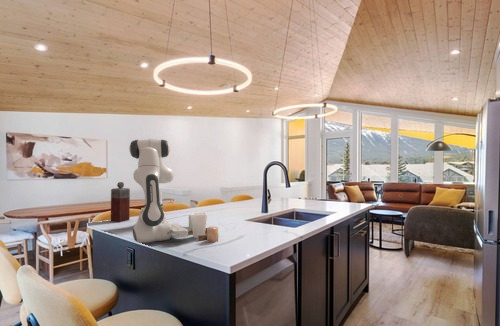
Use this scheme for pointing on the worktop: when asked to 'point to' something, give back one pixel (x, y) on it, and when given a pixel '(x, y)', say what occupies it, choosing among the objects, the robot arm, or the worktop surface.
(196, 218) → the foam cup
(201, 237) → the bay
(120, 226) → the worktop surface
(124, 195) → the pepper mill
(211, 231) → the orange-brown cylindrical block
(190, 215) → the sage tin
